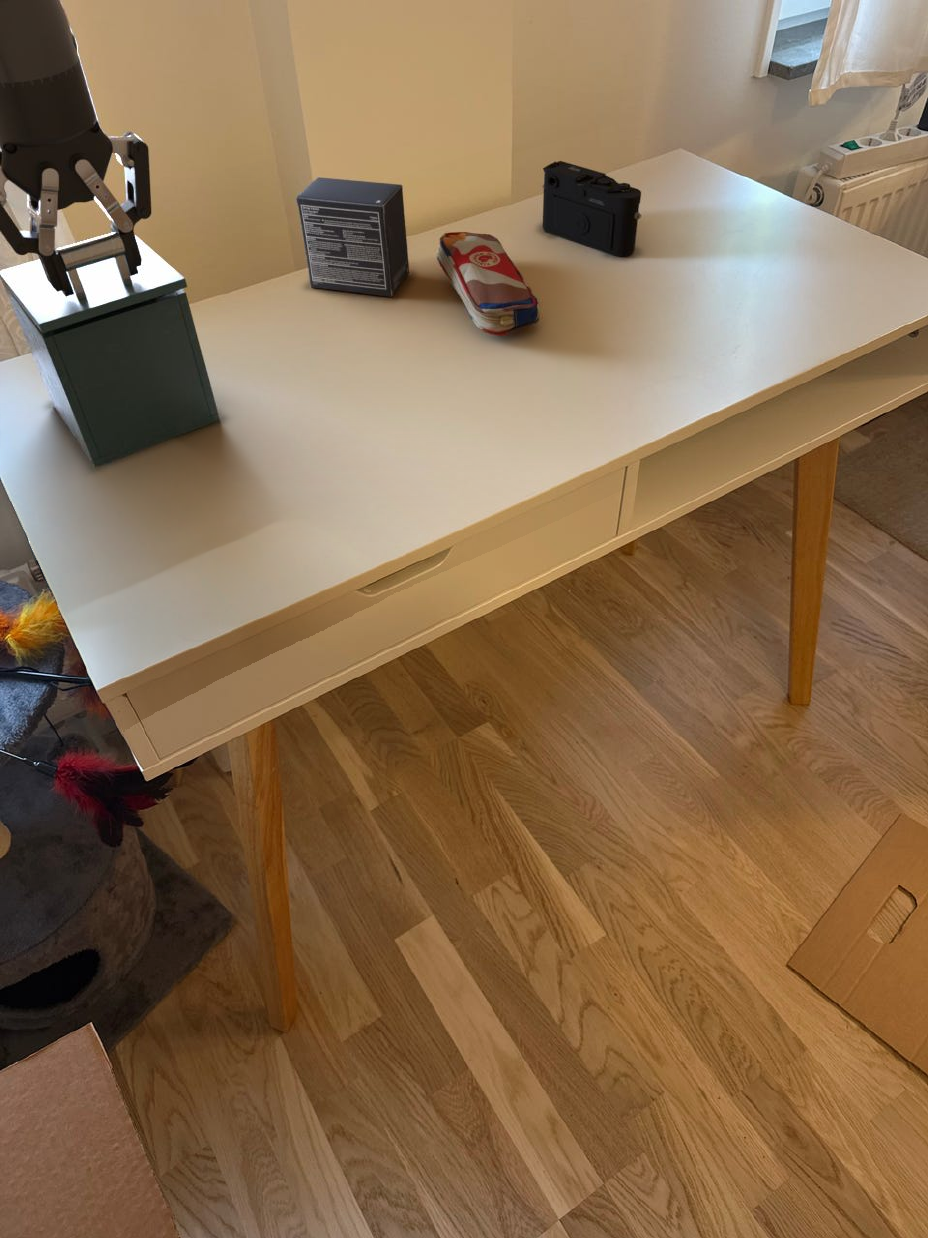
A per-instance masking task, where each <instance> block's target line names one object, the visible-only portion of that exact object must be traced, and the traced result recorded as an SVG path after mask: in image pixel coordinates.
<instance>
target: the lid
mask: <svg viewBox="0 0 928 1238" xmlns="http://www.w3.org/2000/svg"><path fill="white" fill-rule="evenodd" d="M135 238H136V241H137V244H138V248H139V251H140V254H141V258H142V264H141V266H138V267H137V269H138V274H136V275H133V276H130V274H129V271H128V267H127V264H126V261H125V258H124V255H125V247H124V244H123V242H122V239H121V237H120V236H119V234H118V233H117V232H114V233H112V232H111V233H108V234H104V235H101V236H96V237H93V238H90V239H87V240H83V241H79V242H77V243H73V244H70V245H65V246H63V247H58V248H56V250H57V251H58V252H59V253H60V256H61V259H62V262H63V264H64V267H65V270H66V272H67V275H68V277H69V280H70V283H71V286H72V288H73V291H74V294H73V295H70V296H67V297H66V296H65V295H64V294H63V292H62V291H59V292H57V291H56V290H55V289H54V288H53V287H52V285H51V284H50V283H49V281H48V280H47V277H46V275H45V272H44V269H43V267H42V264H41V262H40V259H39V258H38V259H36V260H32V261H29V262H25V263H22V264H19V265H15V266H11V267H8V268H4V269H0V280H1V282H2V281H3V283H4V284H5V285H6V287H7V288H8V289H9V290H10V292H11V293H12V294H13V296H14V297H15V298H16V300H17V301H18V302H19V303H20V305H21V306H22V307H23V309H24V310H25V311H26V313H27V314H28V315H29V316H30V318H31V319H32V320H33V322H34V323H35V324H36V325H37V327H38V328H39V329H40V331H41V332H42V333H46V332H49V331H52V330H55V329H58V328H61V327H64V326H68V325H71V324H74V323H77V322H80V321H83V320H86V319H89V318H93V317H96V316H99V315H102V314H105V313H108V312H111V311H114V310H118V309H121V308H124V307H127V306H130V305H133V304H136V303H139V302H143V301H146V300H149V299H152V298H155V297H158V296H161V295H165V294H168V293H171V292H174V291H177V290H180V289H183V290H184V289H186V288H188V283H187V280H186V278H185V277H184V276H183V275H181V273H180V272H178V270H176V269H175V268H174V267H172V266H171V264H169V263H168V262H167V261H165V259H163V258H162V257H161V255H158V254H157V253H156V252H155V251H154V250H153V249H152V248H151V247H149V246H148V245H147V244H146V243H145V242H144V241H143V240H141V239H140V238H139V237H138V236H137V235H135ZM3 283H2V284H3Z"/></svg>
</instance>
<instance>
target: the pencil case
mask: <svg viewBox="0 0 928 1238" xmlns="http://www.w3.org/2000/svg"><path fill="white" fill-rule="evenodd" d="M438 244H439V248H438V252H437V255H436V260H437V262H438V264H439V266H440V268H441V269H442V271H443V272H444V273H445V276H446V277H447V278H448V280H449V281H450V283H451V286H453V288H454V290H455V291H456V293H457V294H458V296H459V297H460V299H461V300H462V302H463V304H464V306H465V308H466V311H467V312H468V315H469V317H470V319H471V320H472V322H473V323H474V325H475V326H476V328H478V329H479V330H480V331H484V332H485V333H486V334H491V335H494V336H500V337H501V336H504V335H508V334H511V333H513V332H517V331H519V330H523V329H526V328H529V327H532V326H534V325H536V324H537V323H539V322H540V319H541V313H540V311H539V306H538V305H539V301H538V298H537V297H536V295H535V294H534V293H533V291H532V289H531V287H529V286H528V284H527V282H526V280H525V278H524V277H523V274H521V271H520V269H518V266H516V265H515V263H514V262H513V261H512V259H511V258H510V257H509V255H508V254H507V252H506V250H505V249H504V246H503V245H502V243H501V241H500V240H499V239H498V238H497V237H496V236H494V235H492V234H489V233H478V232H477V233H476V232H467V231H457V232H455V231H453V232H452V231H451V232H444V233H443V234H441V236H440V238H439V243H438Z"/></svg>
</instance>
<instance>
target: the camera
mask: <svg viewBox="0 0 928 1238" xmlns="http://www.w3.org/2000/svg"><path fill="white" fill-rule="evenodd" d="M542 170H543V172H544V173H543V175H544V177H543V184H542V186H541V187H542V190H543V195H542V196H543V197H542V199H543V200H542V230H543V231H544V232H545V233H548V234H551V235H554V236H556V237H559V238H562V239H566V240H569V241H571V242H574V243H577V244H580V245H583V246H585V247H589V248H591V249H595V250H597V251H600V252H603V253H606V254H609V255H612V256H614V257H620V258H625V257H630V256H632V255H633V254H634V252H635V250H636V242H637V231H638V220H640V219H641V217H642V214H641V213H640V212H639V210H640V209H639V208H640V204H641V199H642V191H641V189H639V188H636V187H632V186H631V184H630V183H627V182H618V181H616V180H615V179H614V178H613V177H610V176H608V175H606V174H607V173H604V172H601V171H597V170H593V169H590V168H586V167H583V166H581V165H578V164H577V165H576V164H573V163H571V162H566V161H563V160H559V161H554V162H551V163H549V164H548V165H546V166H545V167H543V168H542Z"/></svg>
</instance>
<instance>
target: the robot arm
mask: <svg viewBox="0 0 928 1238" xmlns="http://www.w3.org/2000/svg"><path fill="white" fill-rule="evenodd" d="M78 49H79V47H78V42H77V39H76V36H75V35H74V33H73V30H72V28H71V25H70V22H69V18H68V16H67V13H66V10H65V8H64V5H63V3H62V1H61V0H0V234H1V235H2V236H3V238H4V239H5V240H6V242H7V243H8V244H9V246H10V247H11V248H12V250H13V251H14V253H15V254H17V255H18V256H25V255H27V254H36V255H37V256H38V260H39V259H40V262H41V264H42V267H43V269H44V272H45V275H46V277H47V280H48V281H49V283H50V284H51V285H52V287H53V288H54V289H55V290H56V291H57V292H59V291H62V292H63V294H64V295H65V296H66V297H67V296H70V295H73V294H74V291H73V288H72V286H71V283H70V280H69V277H68V275H67V272H66V270H65V267H64V264H63V262H62V259H61V256H60V253H59V252H58V251H57V248H56V228H57V227H58V211H61V210H63V209H67V208H68V207H70V206H72V205H73V204H75V203H89V202H93V201H95V202H96V203H97V205H99V207H100V208H101V209H102V211H103V212H104V213H105V215H106V216H107V218H108V219H109V220H110V222H111V224H110V225H109V229H110V232H111V233H114V232H117V233H118V234H119V236H120V237H121V239H122V242H123V244H124V247H125V255H124V258H125V261H126V264H127V267H128V271H129V274H130V276H133V275H136V274H138V269H137V267H138V266H141V264H142V258H141V254H140V251H139V248H138V244H137V241H136V238H135V236H136V234H135V231H134V230H135V227H136V226H135V225H136V224H137V223H138V222H140V221H141V220H147V219H149V218H151V215H152V194H151V192H152V191H151V174H150V173H151V172H150V154H149V153H150V152H149V145H148V144H147V143H146V142H145V141H144V140H142V139H141V138H140V137H139V136H138V135H137V134H136V133H134V132H133V131H127V132H125V133H124V134H123V135H122V136H108V135H107V134H106V132H104V130H103V129H102V126H101V125H100V122H99V118H98V115H97V112H96V108H95V105H94V102H93V98H92V94H91V91H90V89H89V85H88V82H87V78H86V75H85V71H84V68H83V65H82V61H81V59H80V55H79V50H78ZM113 154H115V156H116V159H117V161H118V162H119V163H120V164H121V165H122V166H123V167H124V182H125V197H126V200H125V201H124V202H123V203H121V204H120V203H119V201H118V200H117V198H116V197H115V196H114V195H113V193H112V191H111V190H110V189H109V187H108V186H107V185H106V183H105V182H104V181H105V178H106V174H107V171H108V168H109V165H110V162H111V159H112V156H113ZM7 181H9V182H10V183H11V184H13V185H14V186H16V187H17V188H19V189H20V190H21V191H23V192H24V193H25V194H26V195H27V209H28V210H27V212H28V215H29V230H20V229H19V228H18V225H16V223H15V221H13V219H12V217H11V216H10V214H9V213H8V211H7V210H6V208H5V207H4V206H3V204H2V203H4V202H5V201H6V200H7V195H8V194H7V192H6V189H5V185H6V183H7Z"/></svg>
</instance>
